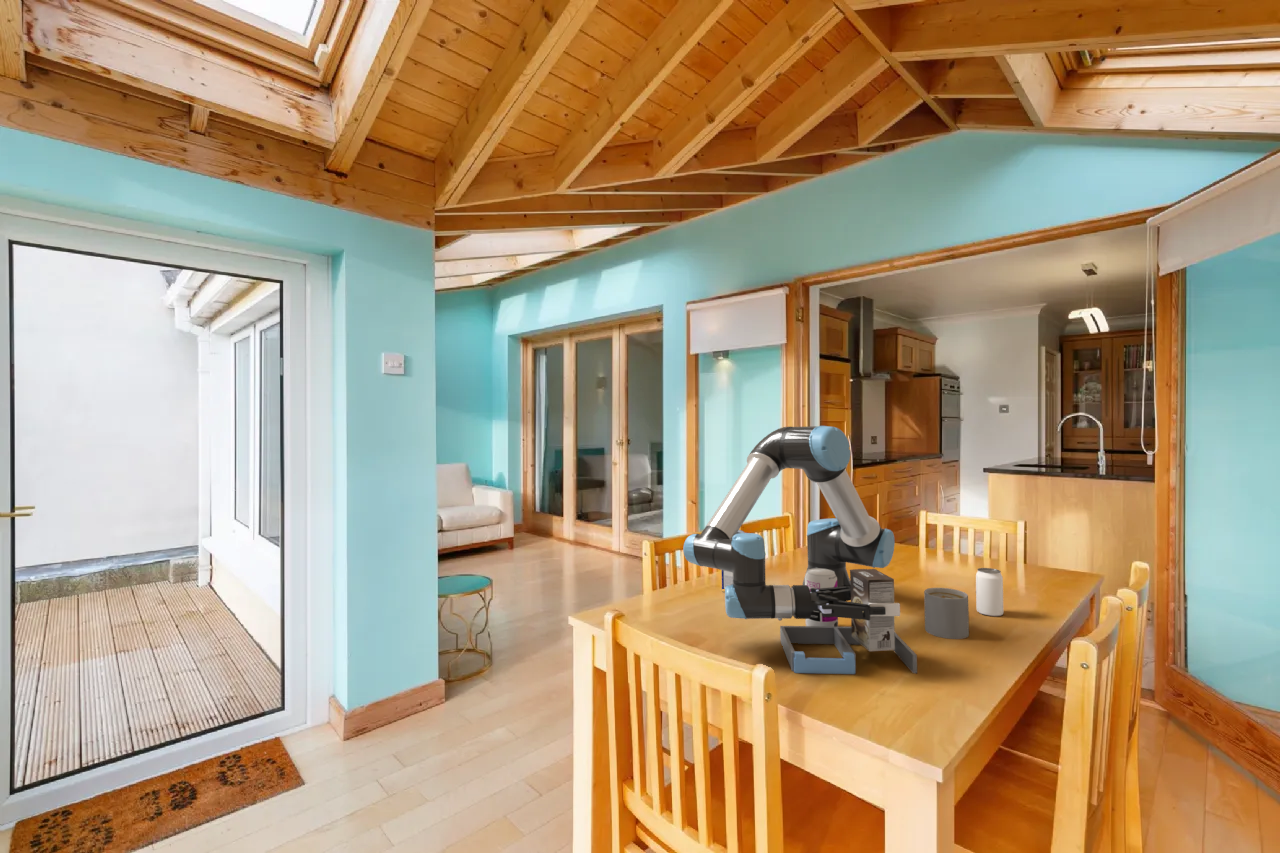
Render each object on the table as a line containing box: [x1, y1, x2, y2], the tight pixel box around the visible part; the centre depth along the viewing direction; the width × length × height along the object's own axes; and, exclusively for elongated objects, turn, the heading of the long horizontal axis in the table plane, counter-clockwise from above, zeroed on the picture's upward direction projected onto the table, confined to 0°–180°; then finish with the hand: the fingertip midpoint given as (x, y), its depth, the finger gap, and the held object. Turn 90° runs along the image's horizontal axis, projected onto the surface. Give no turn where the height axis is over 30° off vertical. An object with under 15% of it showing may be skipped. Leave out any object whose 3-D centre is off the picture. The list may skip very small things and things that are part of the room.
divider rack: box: [779, 625, 918, 675], centre depth 133 cm, size 18×26×4 cm
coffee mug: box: [923, 587, 970, 640], centre depth 150 cm, size 13×10×10 cm
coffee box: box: [849, 568, 896, 652], centre depth 133 cm, size 9×6×16 cm
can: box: [975, 567, 1004, 617], centre depth 162 cm, size 6×6×12 cm
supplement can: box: [804, 568, 839, 627], centre depth 153 cm, size 8×8×15 cm
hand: (891, 602), depth 133 cm, fingers closed on coffee box, 10 cm apart
